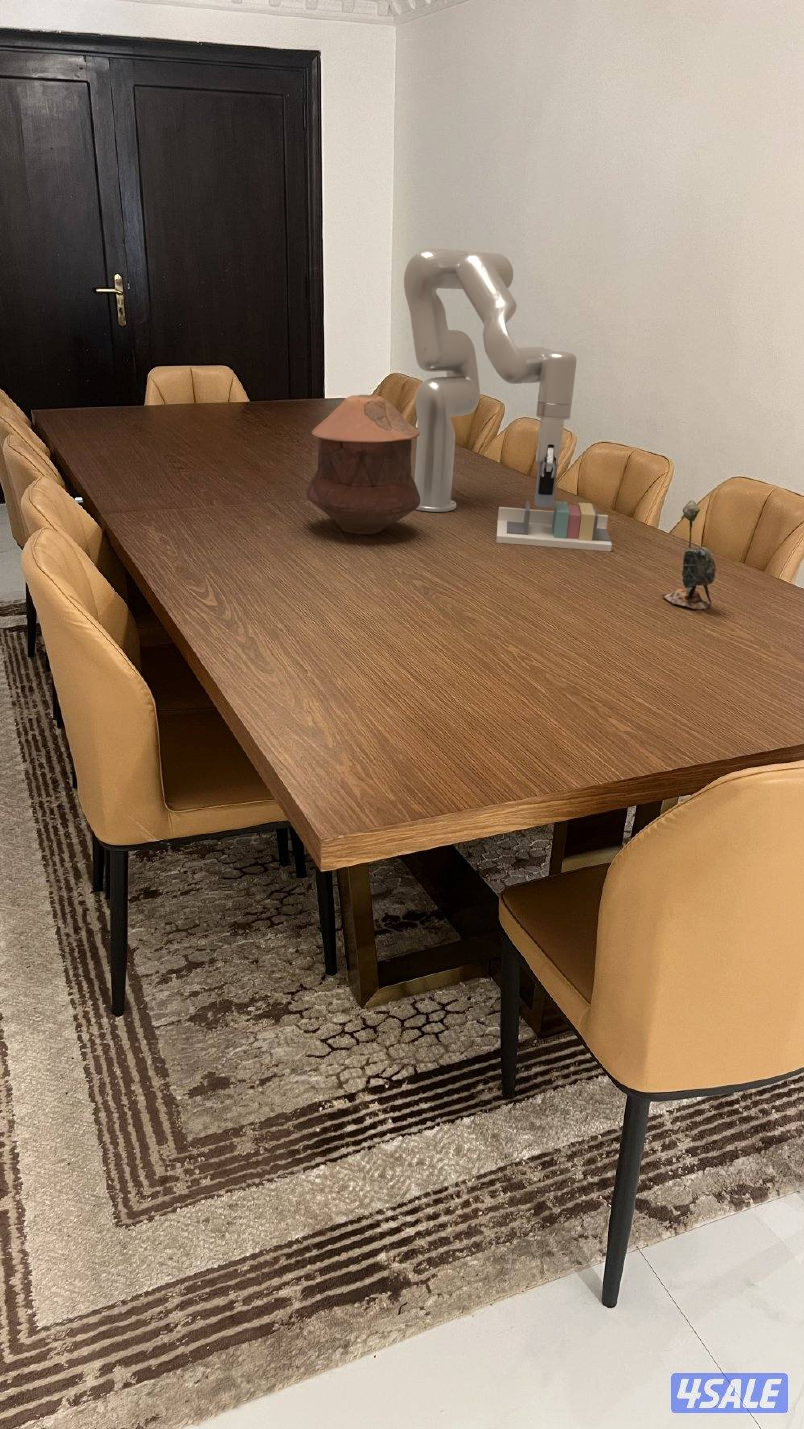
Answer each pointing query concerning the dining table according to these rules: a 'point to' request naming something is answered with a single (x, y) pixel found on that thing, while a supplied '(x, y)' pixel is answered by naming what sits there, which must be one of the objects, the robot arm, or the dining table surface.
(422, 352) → the robot arm
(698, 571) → the green and brown figurine
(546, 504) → the boxed book
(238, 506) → the dining table surface
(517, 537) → the book shelf
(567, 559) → the dining table surface
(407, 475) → the pottery vessel
